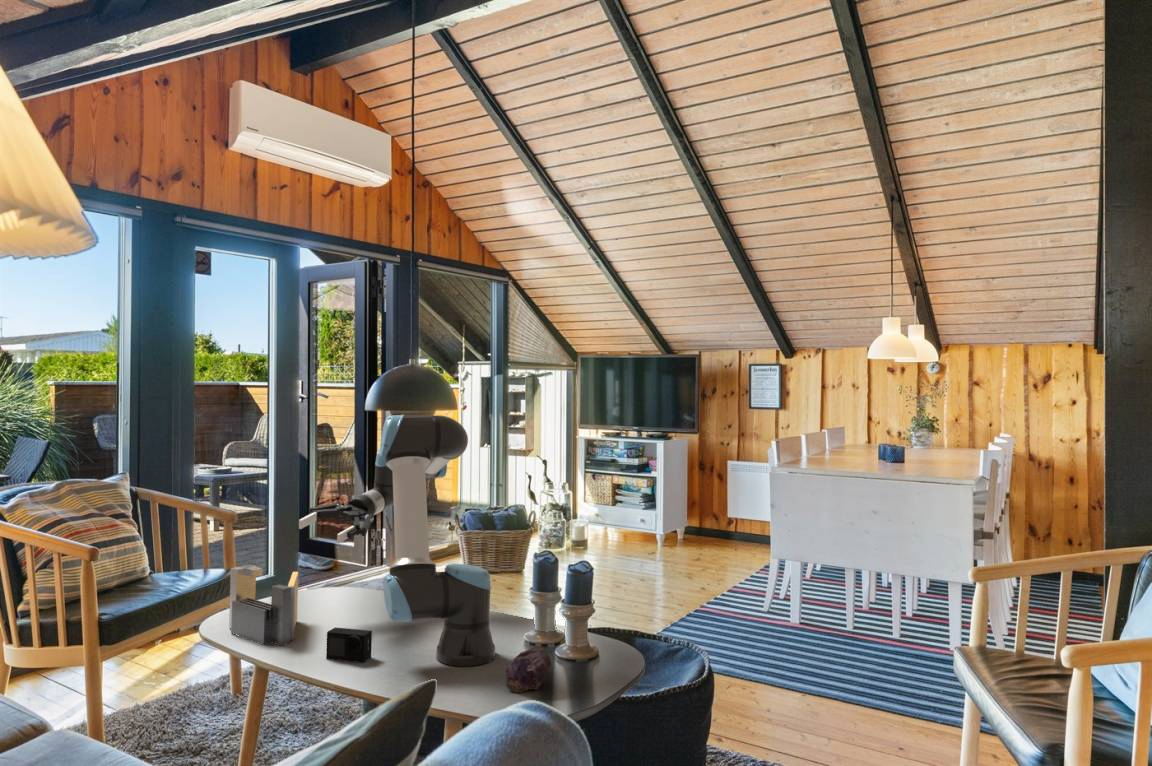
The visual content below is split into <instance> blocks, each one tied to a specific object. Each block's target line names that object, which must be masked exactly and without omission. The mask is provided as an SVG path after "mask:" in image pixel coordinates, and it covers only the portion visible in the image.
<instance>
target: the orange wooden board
mask: <svg viewBox="0 0 1152 766" xmlns="http://www.w3.org/2000/svg"><path fill="white" fill-rule="evenodd" d="M287 586H288V587H291V609H290V641H291V640H293V639H294V638H295V636H294V634H295V628H296V624H297V621H298V600H299V599H298V597H299V596H298V594H299V593H298V592H299V591H298V590H299V571H292V573H291V576H290V579H289V581H288V585H287Z"/></svg>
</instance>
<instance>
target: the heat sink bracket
mask: <svg viewBox="0 0 1152 766" xmlns="http://www.w3.org/2000/svg"><path fill="white" fill-rule="evenodd" d="M263 570H264V569H263V568H262V567H258V566H256V565H254V564H253V565H252V564H247V565H239V566H235V567H230V581H229V582H230V583H229V587H230V588H229V612H228V613H229V614H228V616H229V617H228V618H229V619H228V628H229V627H231V629H230V630H231V631H230V633H234V634H237V635H239V636H241V637H240V638H242V637H244V638H243V639H245V638H247V639H246V640H248V639H250V640H249V641H251V640H253V641H252V642H254V641H256V642H255V643H257V642H259V643H258V644H260V643H262V644H261V645H263V644H264V645H267V644H266V643H268V644H271V643H270V642H273V643H272V644H274V643H276V644H275V645H277V644H279V645H278V646H280V645H283V646H286V645H285V644H287V645H289V644H290V641H291V640H290V609H291V587H288V585H283V584H275V585H272V586H271V601H270V603H267V602H264V601H261V600H257V599H256V589H257V588H256V587H257V586H256V585H257V583H256V582H257V577H262V576H263ZM239 636H238V637H239ZM288 643H289V644H288Z"/></svg>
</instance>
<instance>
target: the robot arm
mask: <svg viewBox="0 0 1152 766" xmlns="http://www.w3.org/2000/svg"><path fill="white" fill-rule="evenodd" d="M468 437H469V436H468V433H467V430H466V429H465V428H464V426H463V425H462V424H461V423H459V421H457V420H455V419H454V418H452V417H449V416H446V415H445V416H444V415H440V414H439V415H427V414H426V415H425V414H424V415H423V414H419V415H417V414H399V415H398V414H397V415H389V416H387V417H386V418H385V420H384V423H383V426H382V432H381V437H380V445H379V449H378V450H377V452H376V457H375V463H374V464H375V469H374V472H375V473H374V481H373V488H371V489H369V490H368V491H365V492H364V493H361V494H360V495H358V496H357V497H354V498H352V499H351V500H350V501H349V503H348V504H345V505H342V504H341V501H336V502H334V503H330V504H324V505H317V506H312V507H309V510H308V514H306V515H305V516H304V517H301V518H300V519H299V520H298V529H299V530H302V529H304V528H306V527H308V526H309V525H312V524H314V523H315V522H317V520H323V519H334V518H336V519H337V520H341V519H343V520H347V521H349V522H353V525H351V526H349V527H347V528H346V529H344V530H342V531H340V532H339V533H337V536H336V543H337V544H340V543H342V542H344V541H346V540H348V539H351V538H353V537H355V536H359V535H361V536H362V537H365V536H366V535H367V533H368V530H369V529H370V525H372V524H373V523H374V522H375V521H374V520H375V519H374V517H375V515H378V514H379V513H380V512H383V511H385V510H387V509H388V508H390V507H392V506H393V527H394V529H393V531H394V557H395V561H394V562H393V564H392V565H391V566H390V567H389V573H388V574H386V575H385V576H384V577H383V581H382V582H383V583H382V584H383V597H384V603H385V608H386V611H387V616H388V617H389V618H390V619H391V621H393V622H395V623H396V622H397V623H398V622H399V623H402V622H403V623H404V622H405V623H411V622H418V621H428V620H440V619H441V620H442V619H443V629H442V631H441V634H440V638H439V641H438V644H437V646H436V651H435V657H436V660H437V661H438V662H440V663H442V664H443V665H447V664H449V665H448V666H452V665H455V666H454V667H474V666H473V665H475V666H479V665H478V664H481V665H484V664H483V663H485V664H487V663H486V662H488V661H490V660H492V659H493V658H494V657H495V658H496V646H495V643H494V641H493V637H492V633H491V629H490V612H491V611H490V610H491V609H490V607H491V606H490V604H491V589H492V586H491V576H490V572H489V571H488V570H486V569H485V568H483V567H479V566H477V565H473V564H464V563H451V564H450V563H449V564H447V565H445V568H444V571H437V566H436V565H437V564H436V563H435V562H434V561H433V560H432V559H431V558H430V545H429V543H430V541H429V524H428V521H429V520H428V505H427V504H428V502H427V499H428V497H427V481H426V479H438V478H439V479H440V478H444V477H445V476H446V474H447V471H448V463H449V462H450V461H451V460H456V459H457V458H459V457H461V455H462V454H464V453H465V451H466V449H467V447H468V444H469V438H468ZM360 522H363V524H362V526H361V524H360ZM360 526H361V527H360ZM495 658H494V659H495ZM494 659H493V660H494ZM493 660H492V661H493ZM490 662H491V661H490ZM488 663H489V662H488Z"/></svg>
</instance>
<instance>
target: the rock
mask: <svg viewBox="0 0 1152 766" xmlns="http://www.w3.org/2000/svg"><path fill="white" fill-rule="evenodd" d="M551 667H552V662H551V659H550V657H549V654H548V652H547V651H546V649H545V648H544V647H543V646H541V645H540V644H537V645H534V646H532V647H530V648H528V649H526V650H524V651H521V652H520V653H519V654H517V655H516V656H515V658H513V659H512V660H511V662H510V663H509V664H508V665H507V666H506V668H505V681H506V684H505V685H506V688H507V690H509V691H510V692H513V693H517V692H520V693H522V692H521V691H523V692H525V691H529V690H535V689H537V688H538V689H539V687H540V688H541V686H540V685H542V684H543V682H544V681H545V680H546V676H547V674H548V672H549V671H550V668H551ZM528 689H529V690H528ZM538 689H537V690H538Z"/></svg>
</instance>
